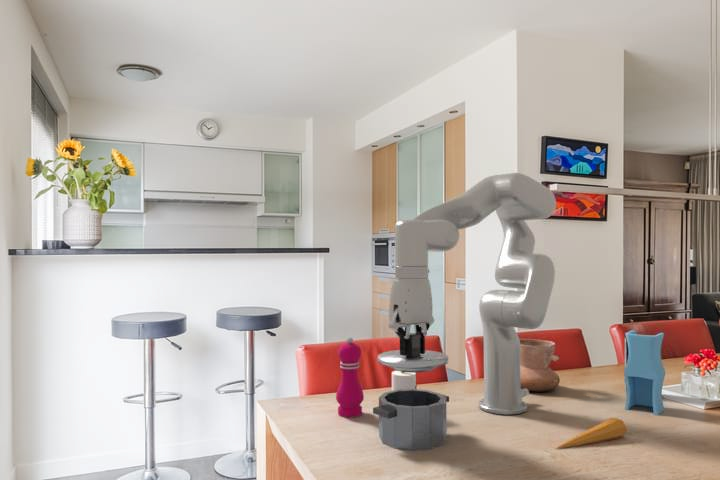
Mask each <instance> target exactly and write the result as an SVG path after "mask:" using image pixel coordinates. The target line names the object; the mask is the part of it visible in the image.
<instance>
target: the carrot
mask: <svg viewBox="0 0 720 480" xmlns="http://www.w3.org/2000/svg"><path fill="white" fill-rule="evenodd" d="M627 432H628V431H627V425H626V423H625V422H624V421H623V419H620V418H617V417H611V418H609V419H606V420H604V421H602V422H601V423H599V424H597V425H594V426H593V427H591V428H589V429H587V430H586V431H583V432H581V433H579V434H577V435H576V436H573V437H572V438H571V439H568V440H567V441H565V442H563V443H562V444H561V445H559V446H557V447H556V448H555V449H564V448H570V447H571V448H572V447H579V446H584V445H589V444H593V443H600V442H605V441H611V440H616V439H620V438H622V437H623V436H624V435H625V434H626V433H627ZM555 449H554V450H555Z"/></svg>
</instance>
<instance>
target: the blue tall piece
mask: <svg viewBox="0 0 720 480" xmlns="http://www.w3.org/2000/svg"><path fill="white" fill-rule="evenodd" d="M664 336H665V332H660V333H657V334H656V335H655V334H654V335H647V334H637V332H636V330H635V329H632V330H629V331H627V332H625V337H626V338H627V342H628V349H629V355H628V361H627V364H626V367H625V366H624V369H623V370H624V371H623V377H624V382H625V381H626V386H627V396H626V401H625V406H624V410H629V409H631V408H632V407H634V406H635V405H636V406H638V405H639V406H644V407H645V406H646V407H650V408H652V409H653V415H654V416H659V415H660V414H661V413H662V412H664V410H665V407H664V402H663V385H664V381H665V376H666V369H665V367H664V364H663V360H662V345H663V344H662V342H663V340H664Z"/></svg>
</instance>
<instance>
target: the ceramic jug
mask: <svg viewBox="0 0 720 480" xmlns="http://www.w3.org/2000/svg"><path fill="white" fill-rule="evenodd" d="M519 340H520V374H521V389H525V388H526V389H528V390H529V392H536V393H538V392H539V393H540V392H547V391H551V390H554V389H556V388H557V387H558V386H559V384H560V383H561V382H560V381H561V379H560V376H559V375H558V373H556V371H555V370H553V369H551V368H550V367H549V365H550V364H551V361H554V362H557V360H560V358H559V356H557V355H554V353H555V349H556V343H555V342H553V341H550V340H544V339H543V340H542V339H532V338H519Z"/></svg>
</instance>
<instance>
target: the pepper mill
mask: <svg viewBox="0 0 720 480" xmlns="http://www.w3.org/2000/svg"><path fill="white" fill-rule="evenodd" d="M353 341H354V340H353V338H352V337H351V336H348V337H347V338H346V339H345V343H343V344H341V345H340V346H339V349H338V351H337V352H338V353H337V355H338V359H339V360H340V362H339V364H340V366H339V367H340V369H341V381H340V383H339V385H338V388H337V390H336V392H335V393H336V394H335V400H336V402H337V403H338V407H337V414H338V415H339V416H340V417H343V418H357V417H360V416H361V415H362V414H363V407H362V406H361V404H362V403H363V401H364V397H365V396H364V392H363V388H362V386H361V384H360V381H359V378H358V368H359V367H360V361H359V359H360V358H361V355H362V352H361V351H362V350H361V347H360V346H359V345H358V344H356V343H354V342H353Z"/></svg>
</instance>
